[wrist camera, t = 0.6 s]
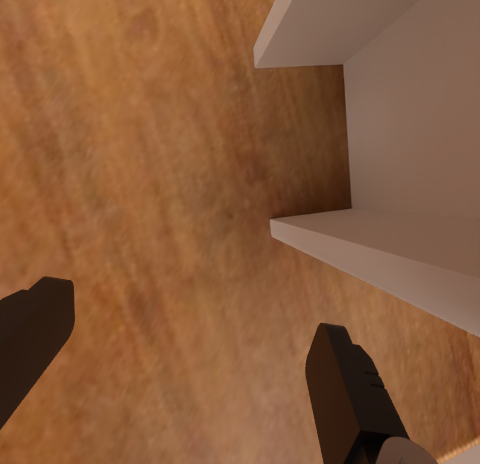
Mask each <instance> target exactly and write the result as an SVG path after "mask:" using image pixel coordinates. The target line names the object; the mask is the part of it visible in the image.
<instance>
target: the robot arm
mask: <svg viewBox="0 0 480 464" xmlns="http://www.w3.org/2000/svg"><path fill="white" fill-rule="evenodd" d="M74 322H75V310H74V285H73V282H72V281H71V280H65V279H59V278H53V277H47V276H46V277H43V278H41V279H40V280H39V281H38V282H37V283H36V284H34V285H33V286H32V287H31V288H30V289H29V290H20V291H18V292H16V293H14V294H11V295H9V296H7V297H5V298H3V299H2V300H0V430H1V428H2V427H3V426H4V424H5V423H6V422H7V420H8V419H9V418H10V416H11V415H12V414H13V412H14V411H15V410H16V408H17V407H18V406H19V404H20V403H21V402H22V400H23V399H24V398H25V396H26V395H27V394H28V392H29V391H30V390H31V388H32V387H33V386H34V384H35V383H36V382H37V380H38V379H39V378H40V376H41V375H42V374H43V372H44V371H45V370H46V368H47V367H48V366H49V364H50V363H51V362H52V360H53V359H54V358H55V356H56V355H57V354H58V352H59V351H60V350H61V348H62V347H63V345H64V344H65V343H66V341H67V340H68V339H69V337H70V335H71V333H72V330H73V327H74ZM305 374H306V380H307V385H308V390H309V395H310V400H311V405H312V409H313V414H314V419H315V424H316V429H317V433H318V438H319V443H320V448H321V453H322V458H323V462H324V464H438V462H437V461H436V460H435V459H434V458H433V457H432V456H431V454H429V453H428V452H427V451H426V450H425V449H424V448H422V447H421V446H420V445H418V444H416V443H415V442H413V441H411V440H410V438H409V436H408V434H407V432H406V430H405V428H404V426H403V424H402V421H401V419H400V417H399V415H398V413H397V411H396V409H395V407H394V405H393V403H392V400H391V398H390V396H389V394H388V392H387V390H386V389H385V388H384V384H383V382H382V379H381V377H380V376H378V374H379V373H378V371H377V369H376V367H375V365H374V363H373V361H372V359H371V357H370V356H369V355H368V354H367V353H366V352H365V351H364V350H363V349H362V347H361V346H360V345H355V344H353V343H352V341H351V339H350V336H349V334H348V332H347V330H346V328H345V327H344V326H339V325H333V324H326V323H320V324H319V326H318V328H317V331H316V333H315V336H314V339H313V342H312V345H311V347H310V350H309V353H308V356H307V359H306V367H305Z"/></svg>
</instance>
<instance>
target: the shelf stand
mask: <svg viewBox="0 0 480 464" xmlns="http://www.w3.org/2000/svg"><path fill="white" fill-rule="evenodd" d="M253 52H254V63H255V69H258V68H278V67H299V66H319V65H340V64H343V70H344V87H345V104H346V120H347V137H348V154H349V170H350V187H351V204H352V209H345V210H337V211H329V212H321V213H313V214H305V215H297V216H290V217H282V218H274V219H270V229H271V237H273V238H275V239H277V240H279V241H281V242H284V243H286V244H288V245H290V246H292V247H294V248H296V249H298V250H300V251H302V252H304V253H306V254H308V255H310V256H312V257H314V258H317V259H319V260H321V261H323V262H325V263H327V264H329V265H331V266H333V267H335V268H337V269H339V270H341V271H343V272H345V273H347V274H350V275H352V276H354V277H356V278H358V279H360V280H362V281H364V282H366V283H368V284H370V285H372V286H374V287H376V288H378V289H381V290H383V291H385V292H387V293H389V294H391V295H393V296H395V297H397V298H399V299H401V300H403V301H405V302H407V303H409V304H411V305H414V306H416V307H418V308H420V309H422V310H424V311H426V312H428V313H430V314H432V315H434V316H436V317H438V318H440V319H442V320H444V321H447V322H449V323H451V324H453V325H455V326H457V327H459V328H461V329H463V330H465V331H467V332H469V333H471V334H473V335H475V336H477V337H480V0H275V2H274V4H273V6H272V8H271V10H270V13H269V15H268V17H267V19H266V21H265V23H264V26H263V28H262V30H261V32H260V34H259V37H258V39H257V41H256V43H255V45H254V48H253Z"/></svg>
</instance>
